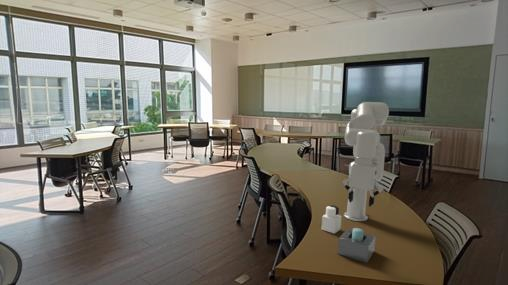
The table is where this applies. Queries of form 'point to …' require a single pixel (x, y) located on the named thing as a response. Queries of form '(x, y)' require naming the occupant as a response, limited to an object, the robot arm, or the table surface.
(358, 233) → the plug
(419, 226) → the table surface
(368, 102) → the robot arm
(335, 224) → the medicine bottle
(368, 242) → the socket
